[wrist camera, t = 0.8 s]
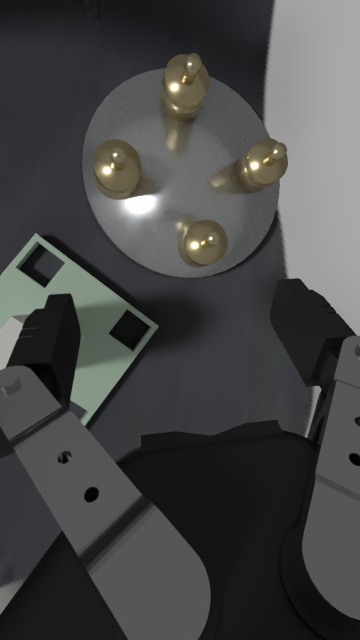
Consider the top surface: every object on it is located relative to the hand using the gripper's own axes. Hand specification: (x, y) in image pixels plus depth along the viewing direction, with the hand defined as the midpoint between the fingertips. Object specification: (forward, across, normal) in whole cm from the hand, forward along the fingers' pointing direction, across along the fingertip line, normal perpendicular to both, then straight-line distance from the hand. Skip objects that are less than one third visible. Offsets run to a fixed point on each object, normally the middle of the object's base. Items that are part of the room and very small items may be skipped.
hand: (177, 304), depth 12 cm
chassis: (+24, -4, +2) cm, 24 cm away
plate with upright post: (+14, +10, +13) cm, 21 cm away
